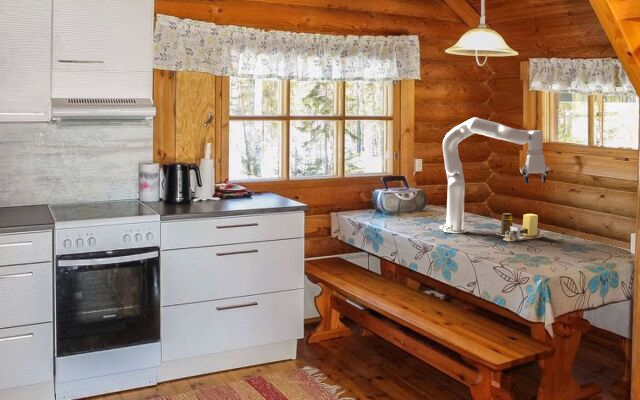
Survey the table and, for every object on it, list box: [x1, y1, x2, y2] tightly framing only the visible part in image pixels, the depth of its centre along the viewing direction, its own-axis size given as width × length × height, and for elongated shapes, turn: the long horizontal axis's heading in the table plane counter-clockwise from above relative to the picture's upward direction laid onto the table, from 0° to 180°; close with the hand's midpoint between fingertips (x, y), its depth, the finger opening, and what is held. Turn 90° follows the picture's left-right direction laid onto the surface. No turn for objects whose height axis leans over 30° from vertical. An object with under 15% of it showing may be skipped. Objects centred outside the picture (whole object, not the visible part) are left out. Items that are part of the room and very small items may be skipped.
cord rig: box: [502, 227, 543, 242], centre depth 385 cm, size 24×5×5 cm, turn 118°
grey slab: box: [510, 225, 521, 239], centre depth 382 cm, size 2×5×6 cm, turn 28°
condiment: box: [494, 212, 513, 237], centre depth 396 cm, size 7×8×12 cm
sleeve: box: [521, 213, 539, 236], centre depth 387 cm, size 6×5×11 cm
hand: (534, 183), depth 390 cm, fingers open, 9 cm apart
